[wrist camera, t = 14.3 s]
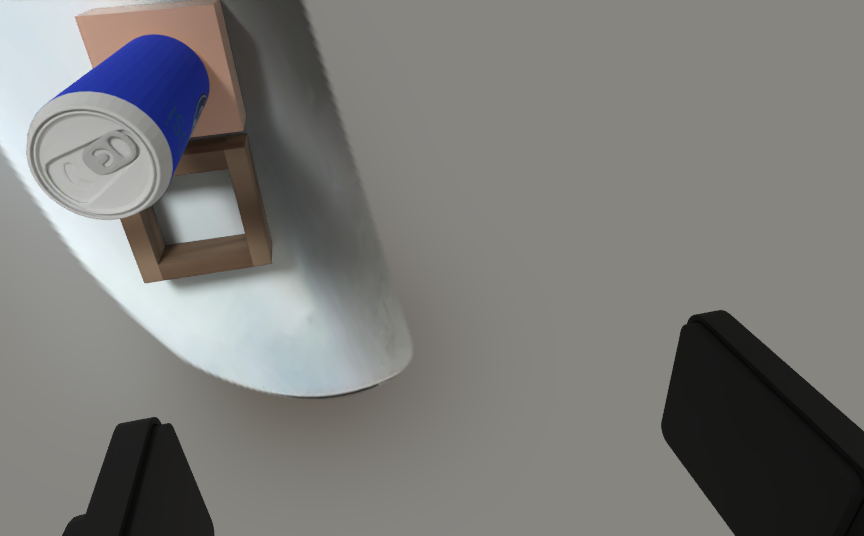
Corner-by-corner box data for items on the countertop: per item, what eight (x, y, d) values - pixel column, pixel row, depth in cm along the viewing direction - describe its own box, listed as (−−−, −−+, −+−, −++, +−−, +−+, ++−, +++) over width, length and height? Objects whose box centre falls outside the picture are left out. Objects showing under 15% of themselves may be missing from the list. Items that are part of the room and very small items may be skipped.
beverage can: (162, 136, 36) (95, 249, 24) (97, 64, 34) (-18, 147, 21) (229, 91, 36) (197, 182, 23) (168, 14, 33) (95, 69, 20)
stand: (92, 8, 35) (74, 16, 32) (219, -2, 36) (213, 4, 33) (132, 129, 39) (120, 145, 36) (246, 116, 40) (243, 131, 37)
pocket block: (111, 150, 39) (99, 165, 37) (246, 133, 41) (244, 147, 38) (152, 262, 44) (144, 283, 42) (272, 244, 45) (271, 263, 43)
